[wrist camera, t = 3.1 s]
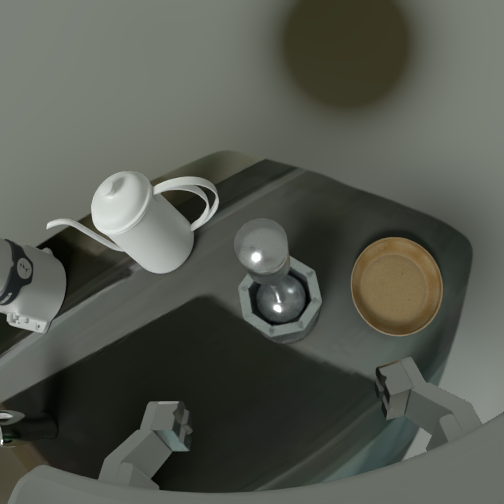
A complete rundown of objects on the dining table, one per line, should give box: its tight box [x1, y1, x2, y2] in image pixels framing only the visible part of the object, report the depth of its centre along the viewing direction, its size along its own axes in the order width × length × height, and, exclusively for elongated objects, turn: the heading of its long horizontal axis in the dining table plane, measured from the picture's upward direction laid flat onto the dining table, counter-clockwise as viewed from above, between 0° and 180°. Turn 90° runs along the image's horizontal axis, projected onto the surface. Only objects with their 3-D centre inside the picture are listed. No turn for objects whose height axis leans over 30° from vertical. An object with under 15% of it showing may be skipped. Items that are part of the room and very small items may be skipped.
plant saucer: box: [351, 237, 443, 336], centre depth 40 cm, size 15×15×3 cm
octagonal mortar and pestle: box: [238, 256, 322, 344], centre depth 37 cm, size 9×11×12 cm
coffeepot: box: [47, 171, 219, 273], centre depth 41 cm, size 11×25×19 cm, turn 104°
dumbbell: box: [234, 218, 305, 323], centre depth 26 cm, size 5×5×17 cm
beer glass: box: [0, 410, 58, 447], centre depth 34 cm, size 7×7×15 cm
